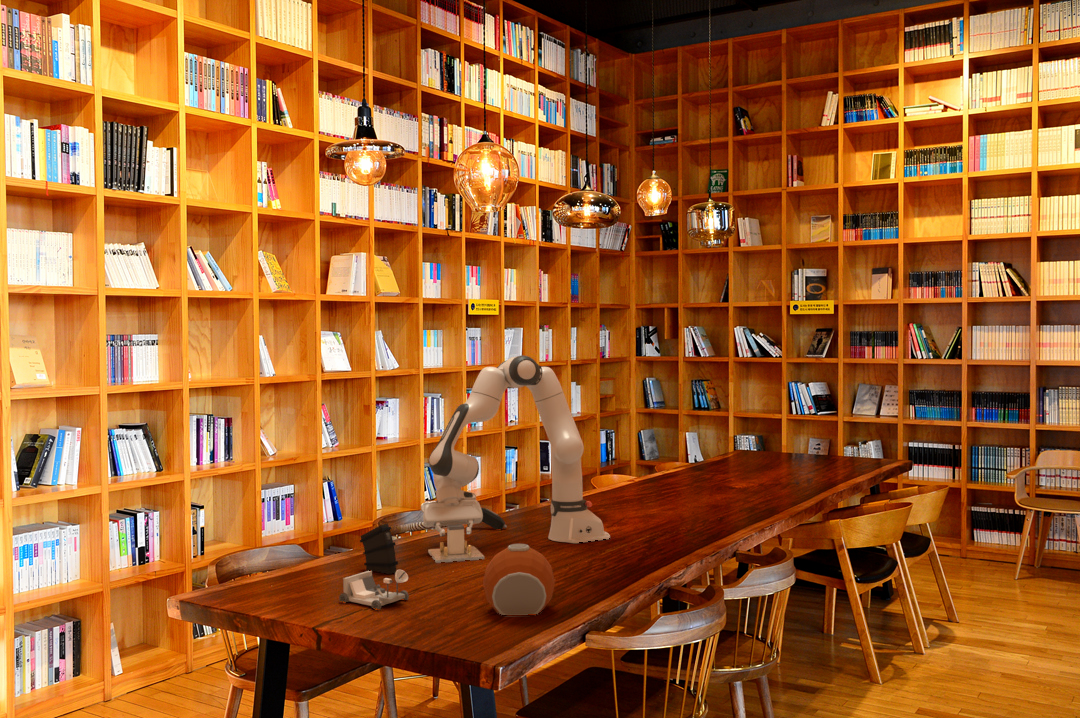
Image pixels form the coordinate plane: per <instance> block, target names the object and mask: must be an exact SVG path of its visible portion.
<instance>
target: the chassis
mask: <svg viewBox="0 0 1080 718" xmlns="http://www.w3.org/2000/svg"><path fill="white" fill-rule="evenodd" d="M444 544H445V542H443V541H442V542H441V541H440V542H439V548H430V549H429V548H428V549H427V552H428V554H429V555H430V556H432V557H431V558H432V560H433V561H434V560H435V561H434V562H435V564H441V562H445V563H454V562H453V561H457V562H466V561H465V560H470V561H480V560H479V559H482V560H485V555H484V554H483V553H482V552H481V551H480V550H479V549H478V548H477V547H475V546H474V545H472V544H468V541H467V540H465V539H464V553H461V554H449V553H448V547H447V546H445V545H444Z"/></svg>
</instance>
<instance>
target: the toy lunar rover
mask: <svg viewBox="0 0 1080 718" xmlns="http://www.w3.org/2000/svg"><path fill="white" fill-rule="evenodd" d="M342 579H343V593H340V594H339V597H338V598H339V602H340V601H342V602H343V601H344V602H348V603H349V602H351V603H356V604H361V605H365V606H370V607H371V609H372V608H375V609H376V608H377V609H380V610H382V606H385V605H388V604H391V603H394V602H397V601H402V600H401V599H404V600H407V601H408V600H409V598H410V597H409V593H408V591H407V590H401V591H400V592H399V584H401V583H402V584H403V583H405V582H407V581H408V580H409V575H408V574H407V572H406V571H405V570H403V569H396V573H394V580H395V582H396V585H395V586H396V591H393V592H392V591H389V584H392V583H393V581H394V580H392V578H388V577H385V578H383V583H384V584H386V588H382V587H381V585H380V583H378V584H376V582H375V580H374V577H373V571H369V570H366V571H364V572H359V573H357V574H352V575H350V576H346V577H343V578H342Z"/></svg>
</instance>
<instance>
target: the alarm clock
mask: <svg viewBox="0 0 1080 718" xmlns="http://www.w3.org/2000/svg"><path fill="white" fill-rule="evenodd" d="M553 571H554V570H553V568H552V565H551V564H550V562H549V561H548V560H547V558H546V557H545V556H544V555H543V554H542V553H540V552H539V551H538V550H536V549H534V548H532V547H530V546H529V545H528V544H526V543H512V544H509V545H508V546H507V547H505V548H504V549H502V550H501V551H500V552H498V553H496V554H495V555H494V556H493V557H492V559H491V560H490V562H488V564H487V565H486V568H485V571H484V575H483V576H484V577H483V581H482V585H483V590H484V594H485V597H486V598H485V599H486V601H487V602H488V604H489V605H490V606H491V607H492V608H493V610H494V611H495V612H496V613H497V614H498V613H499V614H498V615H500V614H501V615H500V616H502V615H528V614H537V615H539V614H538V613H539V612H541V611H542V610H544V609H546V606H547V605H548V604H549V603H550V602H551V600H552V598H553V593H554V590H555V584H556V580H555V576H554V572H553ZM542 612H543V611H542ZM542 612H541V613H542Z"/></svg>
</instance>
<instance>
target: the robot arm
mask: <svg viewBox="0 0 1080 718" xmlns="http://www.w3.org/2000/svg"><path fill="white" fill-rule="evenodd" d="M523 387H526V388H527V389H528V390H529V391H530V393H531V394H532V397H533V401H534V404H535V407H536V410H537V412H538V414H539V417H540V418H539V419H540V420H541V423H542V426H543V428H544V431H545V433H546V436H547V439H548V441H549V444H550V466H551V479H552V480H551V483H552V484H551V493H552V494H551V500H550V513H551V521H550V529H549V533H548V537H547V538H548V540H551V541H553V542H557V543H558V542H561V543H569V544H580V543H579V542H583V543H589V542H588V541H591V542H595V540H598V541H604V540H603V539H606V540H610V539H611V535H610V533H608V532H607V531H605V530H604V529H605V528H604V524H603V521H602V520H601V518H600V517H598V516H597V515H596V514H594V512H592V511H591V510H589V509H588V508H591V507H592V506H593V503H592V502H591V501H590V500H586V499H583V498H584V497H583V470H582V456H583V454H584V451H585V449H584V448H585V447H584V442H583V440H582V438H581V435H580V431H579V429H578V427H577V425H576V422H575V420H574V416H573V415H572V412H571V410H570V406H569V404H568V401H567V399H566V395H565V393H564V391H563V388H562V386H561V383H560V381H559V379H558V377H557V375H556V373H555V372H554V370H553V369H552V368H551V367H549V366H541V365H539V364H538V363H537V361H536V360H534V359H533V358H532V357H531V356H528V355H522V354H521V355H517V356H516V355H515V356H513V357H510V358H509V359H507V360H504V361H502V362H501V363H500V364H499V365H498V366H497V367H495V366H486V367H483V368H482V369H481V370H480V372H479V373H478V375H477V377H476V379H475V382H474V383H473V386H472V389H471V391H470V394H469V396H468V398H467V399H466V400H465V402H464V403H461V404H459V405H458V406H457V408H456V409H455V410H454V412H453V414H452V415H451V417H450V418H449V419H450V420H449V422H448V423H447V425H446V427H445V429H444V431H443V433H442V434H441V437H440V439H439V440H438V443H436V446H435V447H434V448H433V450H432V451H431V453H430V455H429V459H428V465H429V468H430V470H431V472H432V474H433V478H432V479H433V484H434V488H435V490H436V491H435V495H436V500H433V501H424V502H423V503H422V504H421V505H420V512H421V513H423V516H422V520H423V521H422V522H423V526H424V527H426V528H431V527H435V529H436V531H437V532H438V533H439V536H440V537H445V536H446V532H445V528H442V527H445V526H446V527H447V525H456V524H462V525H467V524H468V526H469V527H468V526H467V527H466V529H465V533H466V535H471V534H472V528H473V525H474V524H481V523H482V522H481V521H482V519H483V513H482V509H481V508H482V507H481V504H480V502H479V501H478V500H477V495H476V493H475V492H470V491H467V490H462V488H463V487H465V486H467V485H469V484H470V483H472V482H473V481H475V480H476V479H477V477H478V475H479V471H480V466H479V462H478V460H477V458H476V457H474V456H472V455H469V454H467V453H463V452H461V451H459V450H455V445H456V444H457V441H458V439H459V438H460V436H461V433H462V431H463V429H464V428H465V427H466V426H467V425H469V424H471V423H483V422H488V421H490V420H491V419H493V418H494V417H495V416H496V414H497V413H498V411H499V408H500V404H501V402H502V398H503V395H504V393H505V392H506V390H507V389H519V388H523ZM609 538H610V539H609Z"/></svg>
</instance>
